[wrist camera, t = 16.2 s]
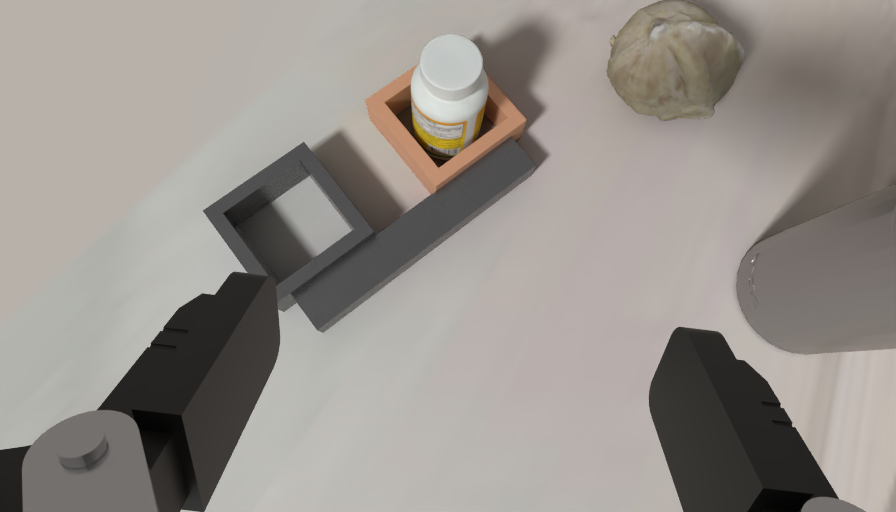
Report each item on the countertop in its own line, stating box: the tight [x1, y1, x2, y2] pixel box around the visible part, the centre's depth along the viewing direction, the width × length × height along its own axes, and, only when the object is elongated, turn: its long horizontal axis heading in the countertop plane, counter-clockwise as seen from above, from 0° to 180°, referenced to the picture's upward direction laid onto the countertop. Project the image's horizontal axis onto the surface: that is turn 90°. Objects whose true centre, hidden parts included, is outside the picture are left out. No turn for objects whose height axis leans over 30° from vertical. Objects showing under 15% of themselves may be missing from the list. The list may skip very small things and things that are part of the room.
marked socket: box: [365, 65, 527, 194], centre depth 42 cm, size 9×9×3 cm
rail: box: [203, 136, 536, 332], centre depth 40 cm, size 21×12×3 cm, turn 128°
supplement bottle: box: [411, 34, 489, 160], centre depth 38 cm, size 5×5×10 cm
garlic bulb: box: [607, 0, 745, 121], centre depth 39 cm, size 9×8×10 cm
